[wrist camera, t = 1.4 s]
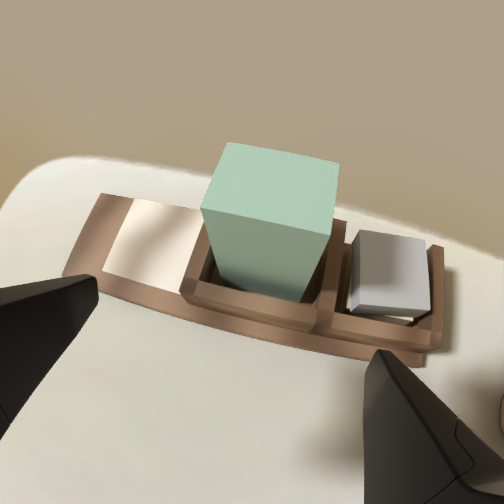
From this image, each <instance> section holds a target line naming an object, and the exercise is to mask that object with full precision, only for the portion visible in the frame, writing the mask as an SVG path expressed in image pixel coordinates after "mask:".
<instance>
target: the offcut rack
mask: <svg viewBox="0 0 504 504" xmlns="http://www.w3.org/2000/svg"><path fill="white" fill-rule="evenodd" d="M346 223H347V221H342V220H338V219H334V218H333V221H332V228H331V235H330V238H329V240H328V242H327V244H326V246H325V249H324V251H323V253H322V255H321V257H320V260H319V262H318V264H317V266H316V268H315V270H314V272H313V275H312V277H311V279H310V281H309V283H308V285H307V287H306V289H305V291H304V293H303V295H302V297H301V300H300V302H299V303H297V302H292V301H288V300H283V299H279V298H275V297H270V296H266V295H262V294H257V293H253V292H249V291H245V290H241V289H237V288H233V287H228V286H224V285H223V283H222V280H221V277H220V274H219V270H218V267H217V264H216V260H215V257H214V254H213V250H212V247H211V243H210V240H209V237H208V233H207V230H206V226H205V223H204V219H203V216H202V212H201V211H200V210H195V209H190V208H185V207H180V206H174V205H169V204H164V203H159V202H153V201H148V200H143V199H137V198H135V199H132V198H127V197H121V196H116V195H110V194H104V193H101V194H100V196H99V198H98V200H97V201H96V203H95V205H94V207H93V209H92V211H91V213H90V215H89V217H88V219H87V221H86V223H85V225H84V227H83V229H82V231H81V233H80V235H79V237H78V239H77V241H76V243H75V246H74V248H73V250H72V252H71V254H70V257H69V259H68V261H67V263H66V266H65V268H64V271H63V273H62V276H63V277H68V276H74V275H80V274H89V275H92V276H95V277H96V278H97V282H98V291H99V292H102V293H104V294H107V295H110V296H113V297H116V298H119V299H121V300H124V301H127V302H130V303H133V304H136V305H139V306H142V307H145V308H149V309H152V310H155V311H158V312H161V313H164V314H168V315H171V316H174V317H178V318H181V319H184V320H188V321H191V322H195V323H198V324H202V325H205V326H209V327H213V328H216V329H220V330H224V331H227V332H231V333H235V334H239V335H243V336H247V337H251V338H255V339H259V340H263V341H268V342H272V343H276V344H281V345H285V346H290V347H294V348H299V349H304V350H309V351H314V352H319V353H324V354H329V355H334V356H340V357H345V358H351V359H357V360H363V361H369V362H370V361H371V359H372V357H373V355H374V353H375V351H376V350H377V349H385V350H390V351H391V352H392V353H393V354H394V355H395V356H396V357H397V358H398V359H399V360H400V361H402V362H403V363H404V364H405V365H406V366H407V367H410V368H418V367H421V366H422V359H423V353H424V352H427V351H431V350H434V349H437V348H440V347H441V346H442V334H443V318H444V247H441V246H437V245H434V244H433V245H432V246H431V247H430V248H429V249H428V250H427V251H426V253H427V263H428V275H429V290H430V311H428V312H426V313H424V314H423V315H421V316H419V317H417V318H413V321H412V322H410V323H408V324H406V325H404V326H402V325H396V324H391V323H386V322H381V321H375V320H370V319H365V318H360V317H355V316H350V315H346V314H341V313H339V311H340V305H341V299H342V292H343V286H344V279H345V272H346V264H347V256H348V252H349V250H350V248H351V247H352V245H351V244H347V243H344V240H345V232H346Z"/></svg>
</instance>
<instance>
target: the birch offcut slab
mask: <svg viewBox="0 0 504 504" xmlns="http://www.w3.org/2000/svg"><path fill="white" fill-rule="evenodd" d="M351 267H352V247H351V248H350V250H349V252H348V256H347V264H346V272H345V279H344V286H343V292H342V299H341V305H340V311H339V313H341V314H346V315H350V316H355V317H360V318H365V319H370V320H375V321H381V322H386V323H391V324H396V325H402V326H404V325H406V324H408V323H410V322H412V321H413V318H411V317H398V316H385V315H373V314H362V313H352V312H350V301H351Z"/></svg>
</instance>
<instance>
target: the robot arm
mask: <svg viewBox="0 0 504 504" xmlns="http://www.w3.org/2000/svg"><path fill="white" fill-rule="evenodd" d="M98 300H99V295H98V282H97V278H96V277H95V276H92V275H89V274H80V275H74V276H68V277H62V278H56V279H51V280H45V281H39V282H33V283H28V284H22V285H16V286H11V287H5V288H0V440H1V439H2V437H3V435H4V434H5V432H6V431H7V429H8V428H9V426H10V424H11V423H12V422H13V420H14V419H15V417H16V416H17V414H18V413H19V411H20V410H21V409H22V407H23V406H24V404H25V403H26V402H27V400H28V399H29V397H30V396H31V395H32V393H33V392H34V390H35V389H36V388H37V386H38V385H39V384H40V382H41V381H42V380H43V378H44V377H45V376H46V374H47V373H48V372H49V370H50V369H51V368H52V366H53V365H54V364H55V363H56V361H57V360H58V359H59V357H60V356H61V355H62V354H63V352H64V351H65V350H66V349H67V347H68V346H69V345H70V344H71V342H72V341H73V340H74V339H75V337H76V336H77V334H78V333H79V331H80V330H81V328H82V327H83V325H84V324H85V322H86V321H87V319H88V318H89V316H90V315H91V313H92V312H93V310H94V309H95V308H96V306H97V304H98ZM457 418H458V417H457V416H456V415H455V414H454V413H453V412H452V411H451V410H450V409H449V408H448V407H447V406H446V405H445V404H444V403H443V402H442V401H441V400H440V399H439V398H438V397H437V396H436V395H435V394H434V393H433V392H432V391H431V390H430V389H429V388H428V387H427V386H426V385H425V384H424V383H423V382H422V381H421V380H420V379H419V378H418V377H417V376H416V375H415V374H414V373H413V372H412V371H411V370H410V369H409V368H408V367H407V366H406V365H405V364H404V363H403V362H402V361H400V360H399V359H398V358H397V357H396V356H395V355H394V354H393V353H392V352H391V351H390V350H385V349H377V350H376V351H375V353H374V355H373V357H372V359H371V361H370V363H369V365H368V367H367V370H366V373H365V385H364V405H363V437H364V504H504V459H503V458H501V457H500V456H499V455H498V454H497V453H496V452H495V451H493V450H492V449H491V448H490V447H489V446H488V445H486V444H485V443H484V442H483V441H482V440H481V439H480V438H479V437H478V436H476V435H475V434H474V433H473V432H472V431H471V430H470V429H469V428H468V427H467V426H466V425H465V424H464V423H463V422H462V421H461V420H460V419H459V418H458V419H457Z"/></svg>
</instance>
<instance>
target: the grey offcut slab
mask: <svg viewBox="0 0 504 504" xmlns="http://www.w3.org/2000/svg"><path fill="white" fill-rule="evenodd" d="M428 311H430V290H429V275H428V263H427V253H426V244H425V240H422V239H416V238H410V237H404V236H398V235H392V234H386V233H379V232H373V231H366V230H359V232H358V233H357V235H356V237H355V239H354V240H353V242H352V267H351V301H350V312H352V313H362V314H373V315H385V316H398V317H411V318H417V317H419V316H421V315H423V314H424V313H426V312H428Z"/></svg>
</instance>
